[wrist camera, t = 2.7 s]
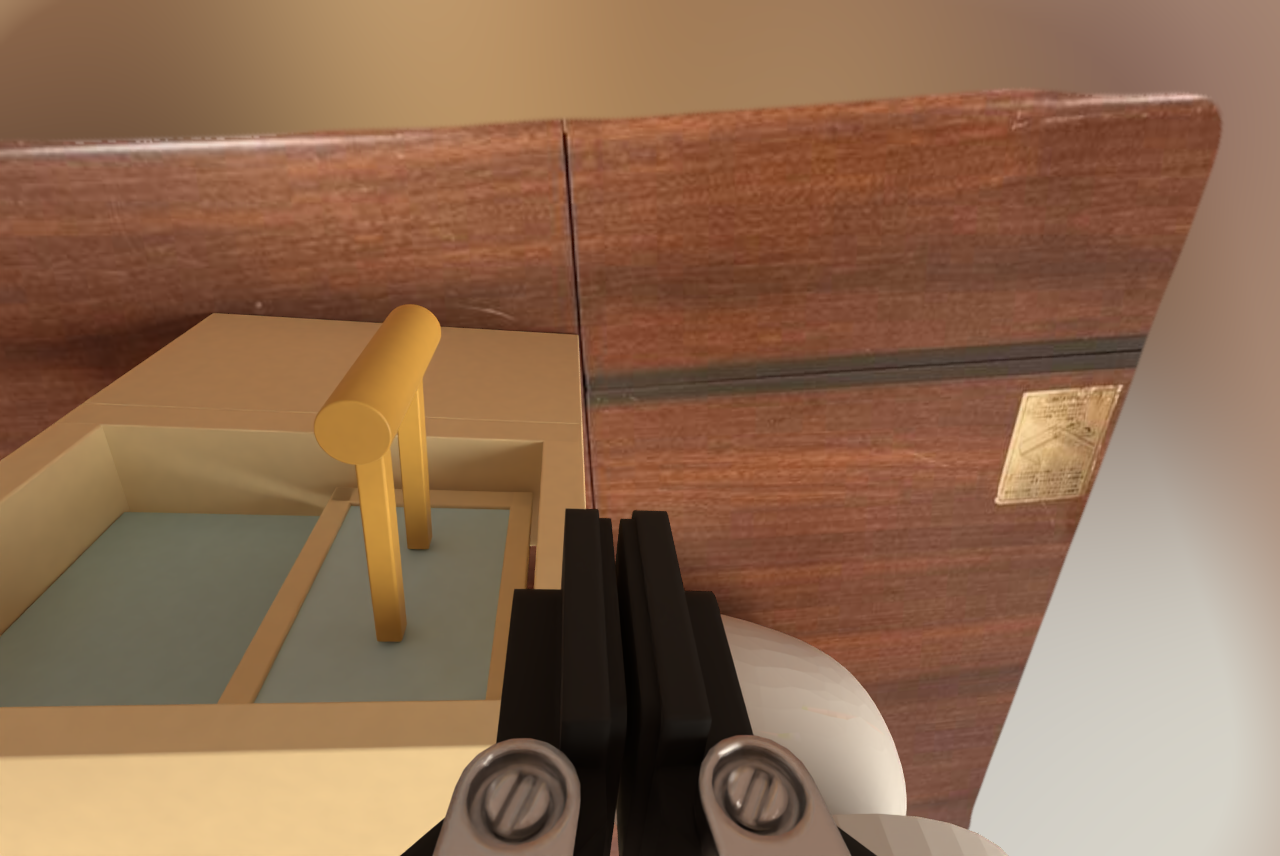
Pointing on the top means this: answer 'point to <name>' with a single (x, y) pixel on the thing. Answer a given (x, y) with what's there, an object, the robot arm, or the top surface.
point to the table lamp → (837, 743)
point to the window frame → (238, 593)
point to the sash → (392, 557)
